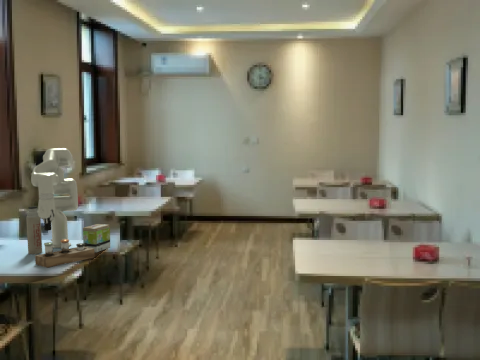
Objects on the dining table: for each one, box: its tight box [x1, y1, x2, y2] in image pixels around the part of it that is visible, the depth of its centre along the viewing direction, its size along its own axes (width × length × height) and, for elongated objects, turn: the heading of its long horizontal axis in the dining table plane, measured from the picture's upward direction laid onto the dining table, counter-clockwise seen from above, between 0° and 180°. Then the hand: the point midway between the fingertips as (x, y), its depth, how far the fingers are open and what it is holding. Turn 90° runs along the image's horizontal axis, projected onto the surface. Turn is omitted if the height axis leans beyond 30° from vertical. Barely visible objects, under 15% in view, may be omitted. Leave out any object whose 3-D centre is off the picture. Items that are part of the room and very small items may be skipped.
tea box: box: [82, 223, 111, 253], centre depth 344 cm, size 15×10×15 cm
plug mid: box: [60, 238, 70, 254], centre depth 317 cm, size 5×5×7 cm
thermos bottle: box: [25, 205, 43, 255], centre depth 338 cm, size 8×8×28 cm
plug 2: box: [76, 242, 85, 250], centre depth 324 cm, size 5×5×7 cm
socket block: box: [34, 246, 96, 268], centre depth 317 cm, size 12×30×5 cm, turn 139°
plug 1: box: [43, 241, 54, 257], centre depth 309 cm, size 5×5×7 cm
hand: (48, 230), depth 308 cm, fingers closed
